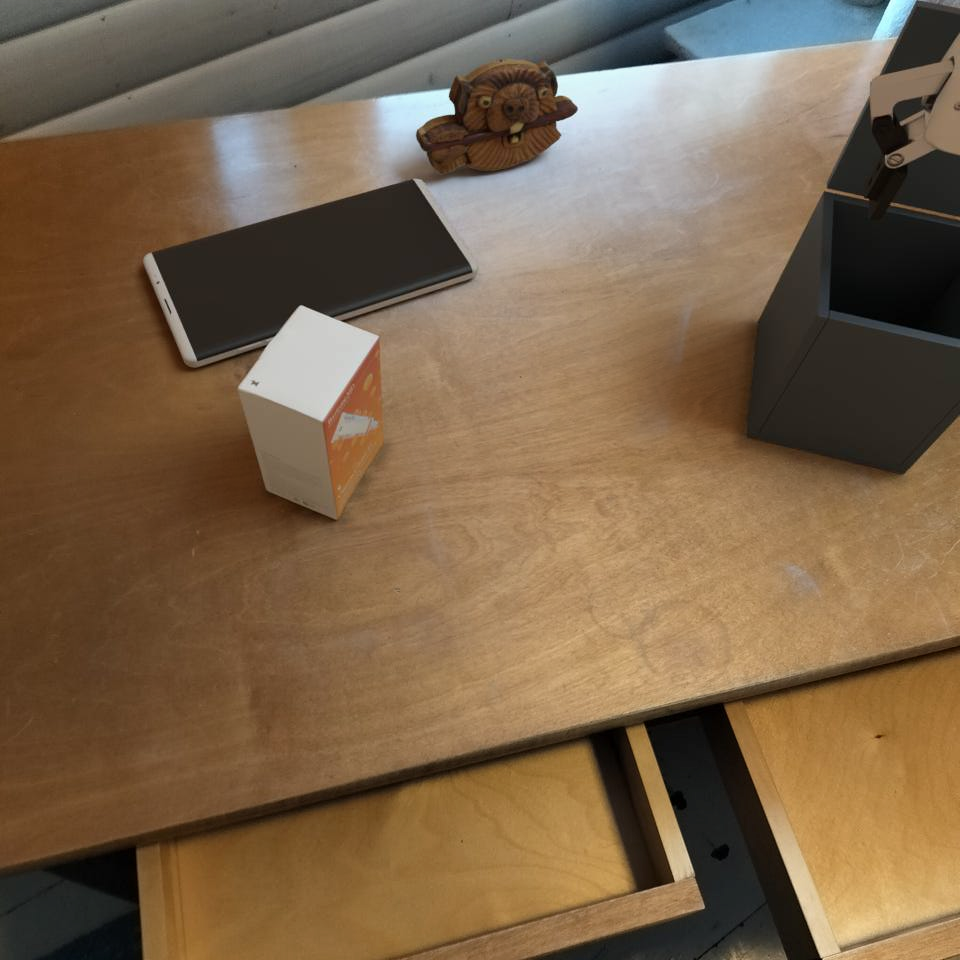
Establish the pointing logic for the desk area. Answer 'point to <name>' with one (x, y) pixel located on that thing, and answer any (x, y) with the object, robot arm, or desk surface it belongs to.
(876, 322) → the chest
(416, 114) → the desk surface
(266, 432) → the small box
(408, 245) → the smartphone
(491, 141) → the wooden carving
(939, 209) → the lid
